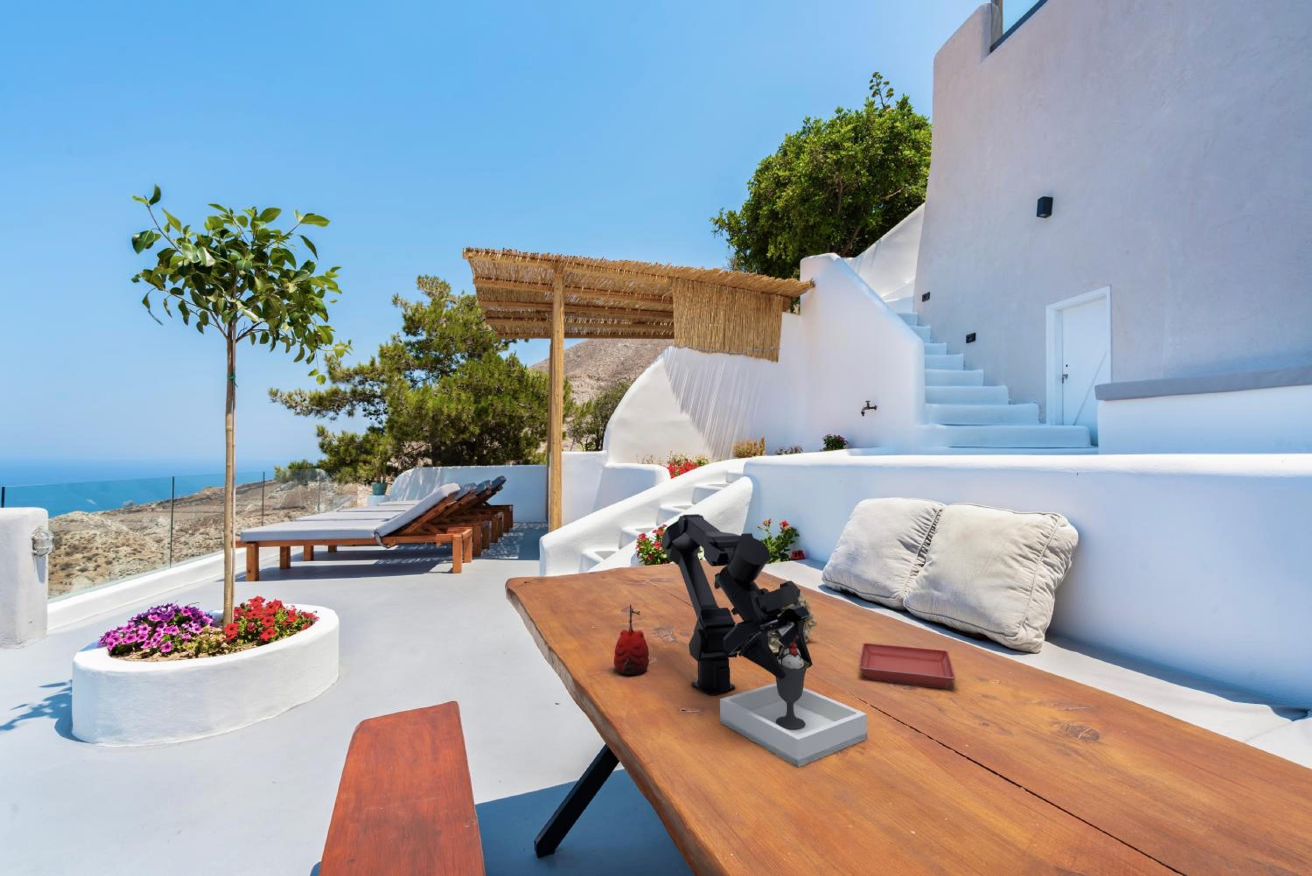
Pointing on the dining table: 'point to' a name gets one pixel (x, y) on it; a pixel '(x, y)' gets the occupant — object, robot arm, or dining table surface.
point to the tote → (818, 738)
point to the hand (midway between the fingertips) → (797, 672)
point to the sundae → (791, 683)
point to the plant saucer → (906, 665)
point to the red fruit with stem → (631, 651)
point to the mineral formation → (809, 621)
